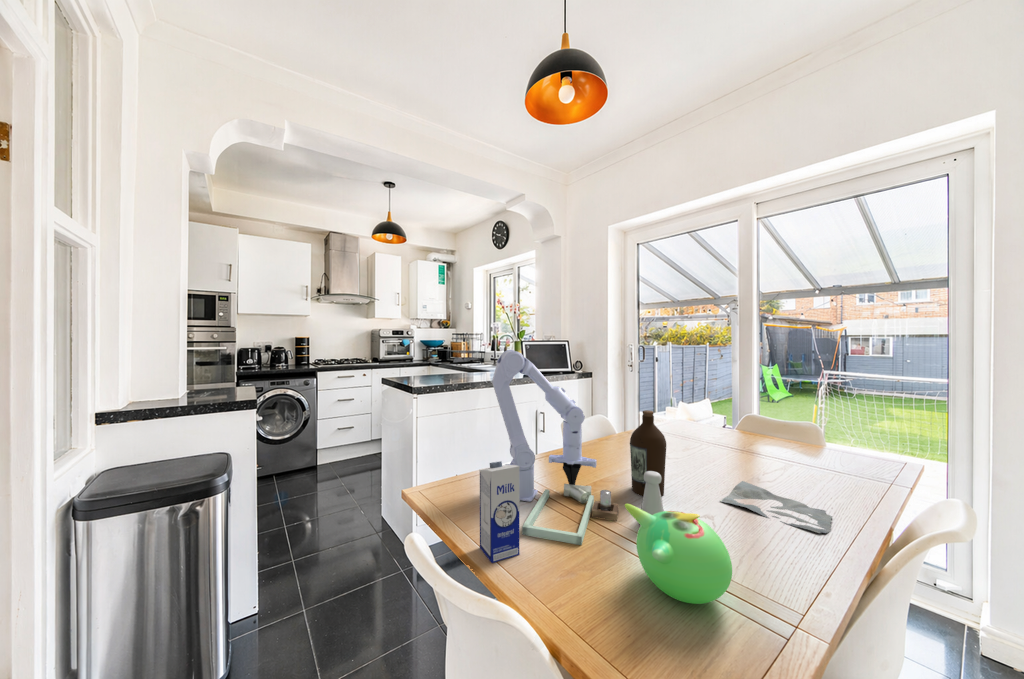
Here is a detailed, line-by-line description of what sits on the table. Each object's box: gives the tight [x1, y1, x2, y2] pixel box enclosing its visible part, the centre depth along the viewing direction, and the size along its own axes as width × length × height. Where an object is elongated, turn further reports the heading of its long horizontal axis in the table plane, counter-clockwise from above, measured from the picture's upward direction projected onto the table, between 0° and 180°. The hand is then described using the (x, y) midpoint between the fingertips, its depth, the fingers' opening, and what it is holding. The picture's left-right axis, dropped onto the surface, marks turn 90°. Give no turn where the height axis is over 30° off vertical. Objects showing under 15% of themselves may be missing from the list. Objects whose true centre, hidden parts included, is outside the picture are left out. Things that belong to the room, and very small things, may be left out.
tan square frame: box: [591, 500, 619, 522], centre depth 104 cm, size 6×6×2 cm
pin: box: [599, 489, 612, 512], centre depth 104 cm, size 3×3×6 cm
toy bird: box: [624, 503, 733, 605], centre depth 73 cm, size 18×17×15 cm
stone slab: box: [719, 480, 833, 534], centre depth 106 cm, size 24×16×2 cm, turn 38°
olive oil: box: [629, 409, 667, 497], centre depth 118 cm, size 11×11×25 cm
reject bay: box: [521, 488, 595, 546], centre depth 102 cm, size 14×24×2 cm, turn 161°
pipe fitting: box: [563, 483, 592, 505], centre depth 113 cm, size 8×4×7 cm
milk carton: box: [478, 460, 520, 564], centre depth 86 cm, size 7×7×20 cm
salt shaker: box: [640, 471, 665, 515], centre depth 99 cm, size 6×6×13 cm
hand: (572, 487), depth 118 cm, fingers closed
